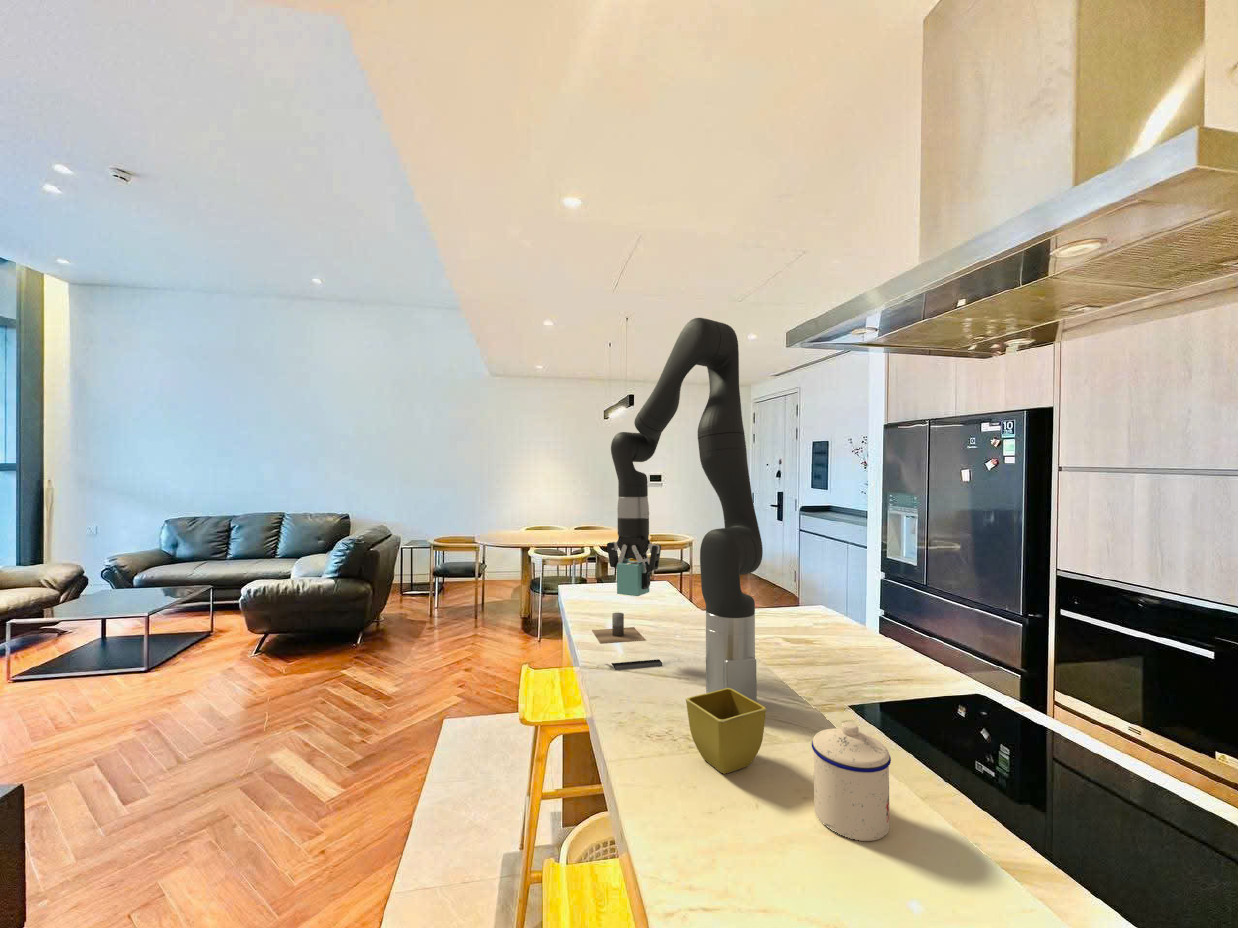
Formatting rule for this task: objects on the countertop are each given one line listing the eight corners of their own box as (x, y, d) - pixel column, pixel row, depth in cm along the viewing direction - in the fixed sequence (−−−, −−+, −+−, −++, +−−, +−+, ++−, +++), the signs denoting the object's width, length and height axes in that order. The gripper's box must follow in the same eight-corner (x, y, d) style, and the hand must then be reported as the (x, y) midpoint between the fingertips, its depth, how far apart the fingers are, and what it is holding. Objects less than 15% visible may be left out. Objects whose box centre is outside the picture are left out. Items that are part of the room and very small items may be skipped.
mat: (662, 666, 118) (662, 662, 118) (615, 670, 115) (615, 666, 115) (648, 650, 128) (648, 647, 128) (605, 653, 126) (605, 650, 126)
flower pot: (720, 786, 71) (720, 720, 72) (684, 756, 79) (684, 697, 80) (768, 770, 76) (768, 708, 76) (729, 743, 83) (729, 686, 84)
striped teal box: (637, 596, 118) (637, 564, 119) (617, 593, 121) (616, 563, 121) (649, 592, 123) (649, 561, 123) (629, 589, 126) (628, 560, 126)
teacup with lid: (908, 842, 61) (907, 741, 61) (834, 846, 60) (833, 744, 60) (853, 782, 72) (852, 698, 73) (791, 785, 72) (790, 700, 72)
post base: (646, 646, 132) (646, 618, 132) (600, 649, 129) (600, 621, 129) (633, 632, 143) (634, 607, 144) (591, 635, 141) (591, 609, 141)
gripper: (599, 516, 124) (599, 587, 123) (652, 517, 116) (653, 593, 115) (616, 514, 130) (616, 582, 129) (667, 515, 122) (668, 587, 122)
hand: (633, 587), depth 122 cm, fingers closed on striped teal box, 5 cm apart
